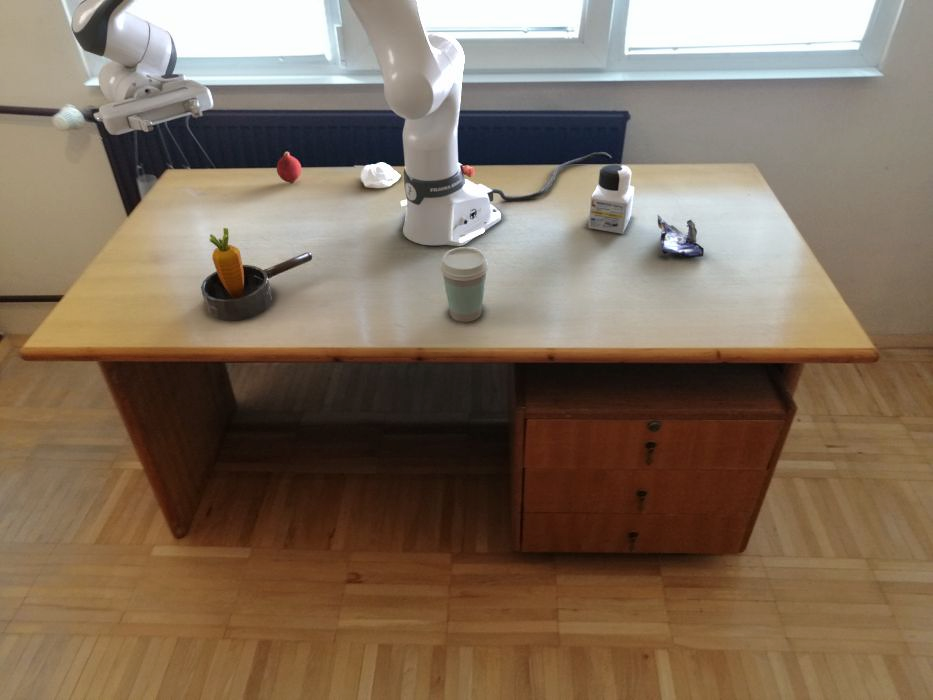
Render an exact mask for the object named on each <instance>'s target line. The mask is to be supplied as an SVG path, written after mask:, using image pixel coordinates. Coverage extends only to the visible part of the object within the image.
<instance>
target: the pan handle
mask: <svg viewBox="0 0 933 700" xmlns="http://www.w3.org/2000/svg"><path fill="white" fill-rule="evenodd" d="M312 259H313V254H312V253H311V252H309V251H307V252H304V253H302V254H299V255H297V256H295V257H292V258H290V259H287V260H284V261H282V262H280V263H277V264H275V265H273V266H270V267H268V268H264V269H262V270H263V271H265V272H266V274H267V277H268V280H270V279H271V278H273V277H275V276H278V275H280V274H282V273H284V272H288V271H290V270H292V269H294V268H297V267H299V266H301V265H304V264H306V263H309V262H311V261H312ZM259 273H260V272H259ZM260 274H261V273H260ZM260 277H262V276H261V275H260ZM262 278H263V277H262Z"/></svg>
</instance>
